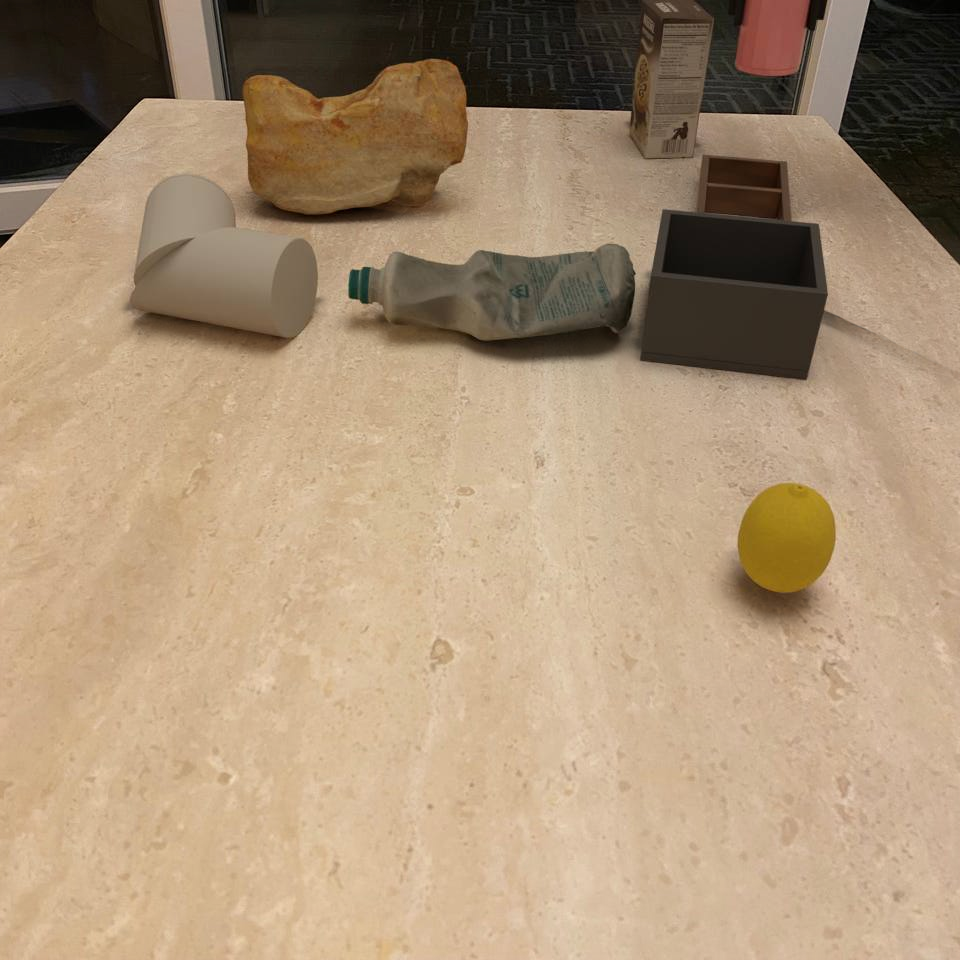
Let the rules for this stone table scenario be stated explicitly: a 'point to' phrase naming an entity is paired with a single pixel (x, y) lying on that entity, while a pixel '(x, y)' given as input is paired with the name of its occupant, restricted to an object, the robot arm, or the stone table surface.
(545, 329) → the detergent
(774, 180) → the brown compartment tray
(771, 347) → the dark gray open box
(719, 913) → the stone table surface
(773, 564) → the lemon
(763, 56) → the pink cup
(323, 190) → the tan saddle-shaped rock
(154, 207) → the l-shaped cylinder
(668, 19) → the coffee box
